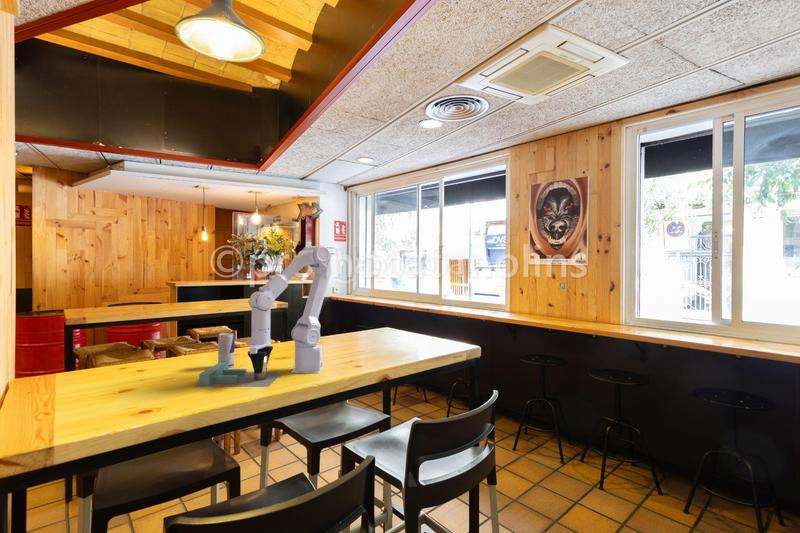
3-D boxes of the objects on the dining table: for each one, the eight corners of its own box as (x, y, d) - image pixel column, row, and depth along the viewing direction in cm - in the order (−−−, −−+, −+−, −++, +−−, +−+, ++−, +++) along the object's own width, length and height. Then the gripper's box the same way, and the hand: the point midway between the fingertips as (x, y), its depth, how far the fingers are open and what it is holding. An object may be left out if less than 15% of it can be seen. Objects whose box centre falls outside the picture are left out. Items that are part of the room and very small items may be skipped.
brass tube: (268, 376, 126) (268, 354, 126) (264, 380, 122) (265, 357, 122) (256, 376, 126) (256, 354, 126) (252, 380, 122) (252, 357, 122)
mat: (282, 372, 132) (282, 372, 132) (268, 387, 116) (268, 386, 116) (217, 372, 132) (217, 372, 132) (194, 387, 116) (194, 386, 116)
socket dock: (249, 372, 131) (249, 362, 131) (232, 385, 117) (232, 374, 117) (219, 372, 131) (219, 362, 131) (199, 385, 117) (199, 373, 117)
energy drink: (237, 365, 141) (237, 332, 141) (229, 369, 136) (229, 335, 136) (223, 365, 141) (223, 332, 141) (214, 368, 136) (215, 334, 136)
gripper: (256, 325, 131) (255, 365, 131) (239, 332, 117) (239, 377, 117) (277, 325, 131) (276, 365, 131) (263, 332, 117) (262, 377, 117)
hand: (260, 371), depth 124 cm, fingers closed on brass tube, 4 cm apart
